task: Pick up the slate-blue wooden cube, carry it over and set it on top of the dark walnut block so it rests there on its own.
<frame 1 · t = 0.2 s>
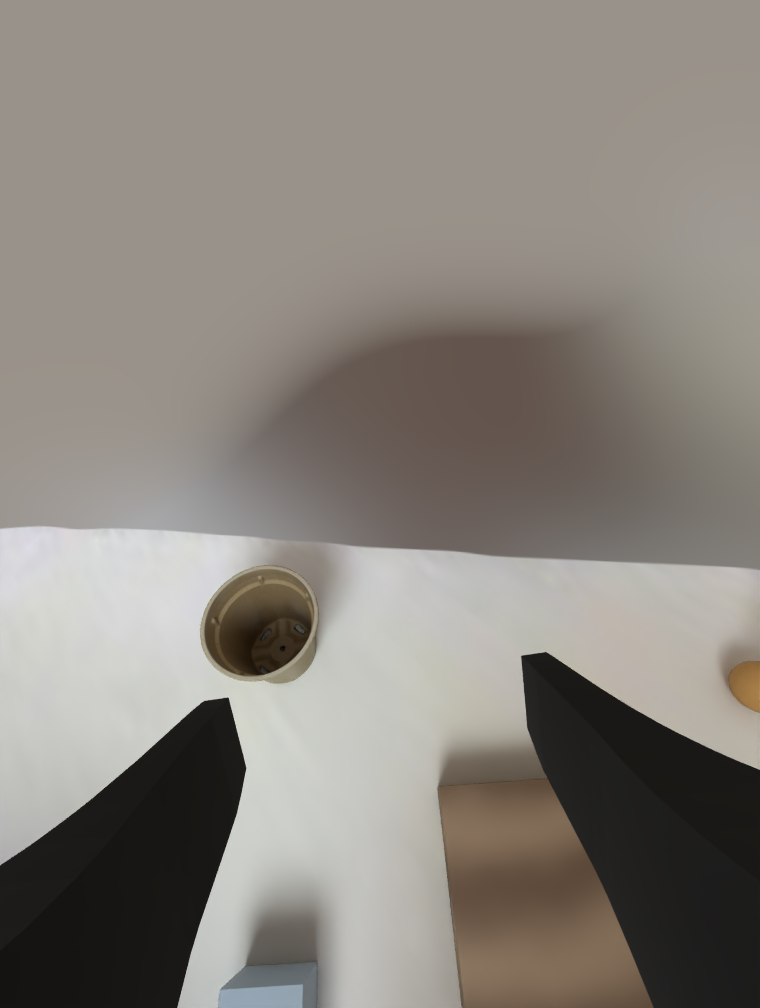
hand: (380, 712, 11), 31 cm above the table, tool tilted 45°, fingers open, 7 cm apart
walnut base block: (529, 879, 33), on the table
figurine: (756, 695, 39), on the table
flower pot: (285, 650, 43), on the table
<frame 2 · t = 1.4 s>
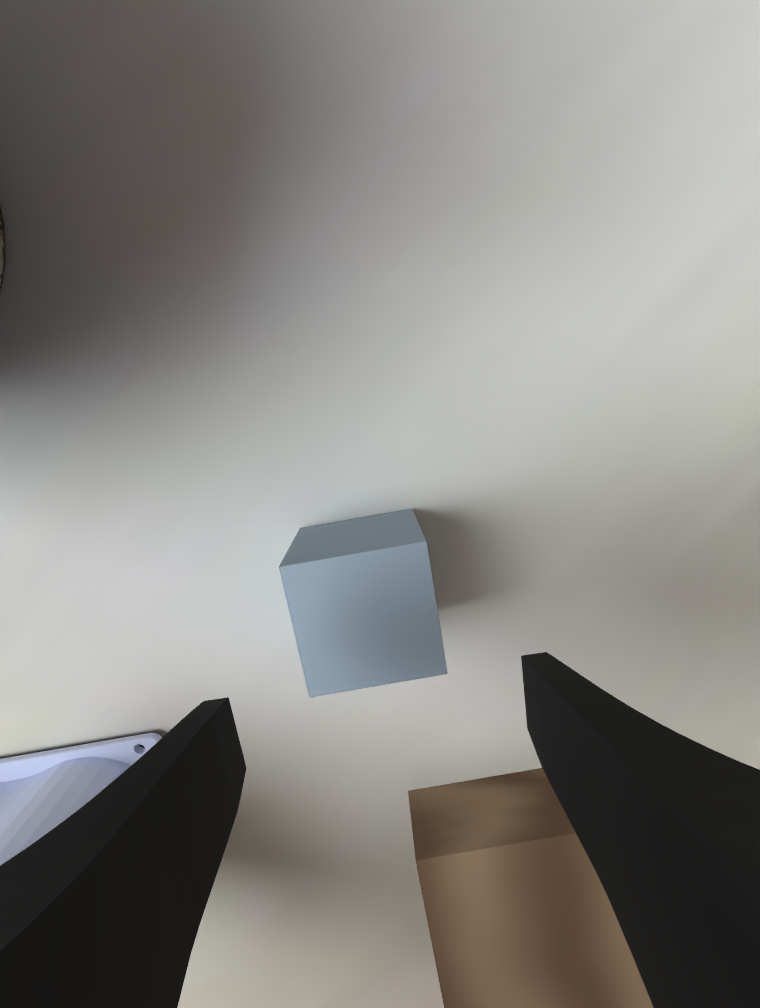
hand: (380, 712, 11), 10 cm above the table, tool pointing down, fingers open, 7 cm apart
walnut base block: (533, 857, 25), on the table
slate cube: (366, 570, 21), on the table
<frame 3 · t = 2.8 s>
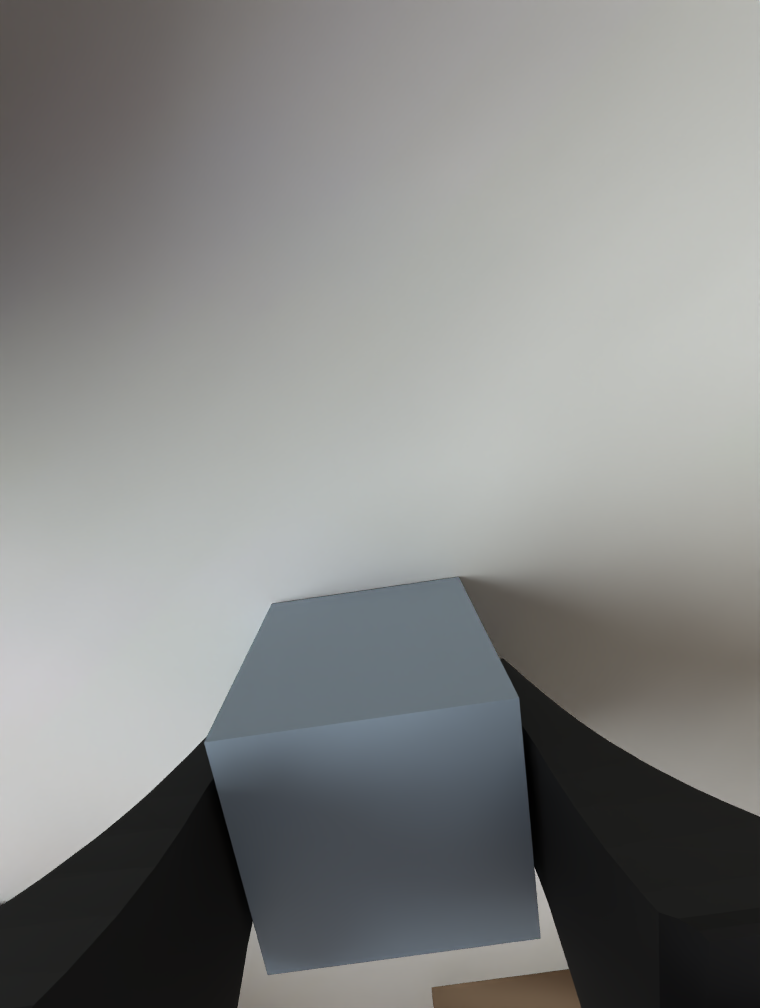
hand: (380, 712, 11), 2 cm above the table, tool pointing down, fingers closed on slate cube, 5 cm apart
slate cube: (378, 673, 13), on the table, touching gripper
when the fingers open (6 cm above the table, at t = 6.8 s): slate cube drops 1 cm, point 4 cm above the table.
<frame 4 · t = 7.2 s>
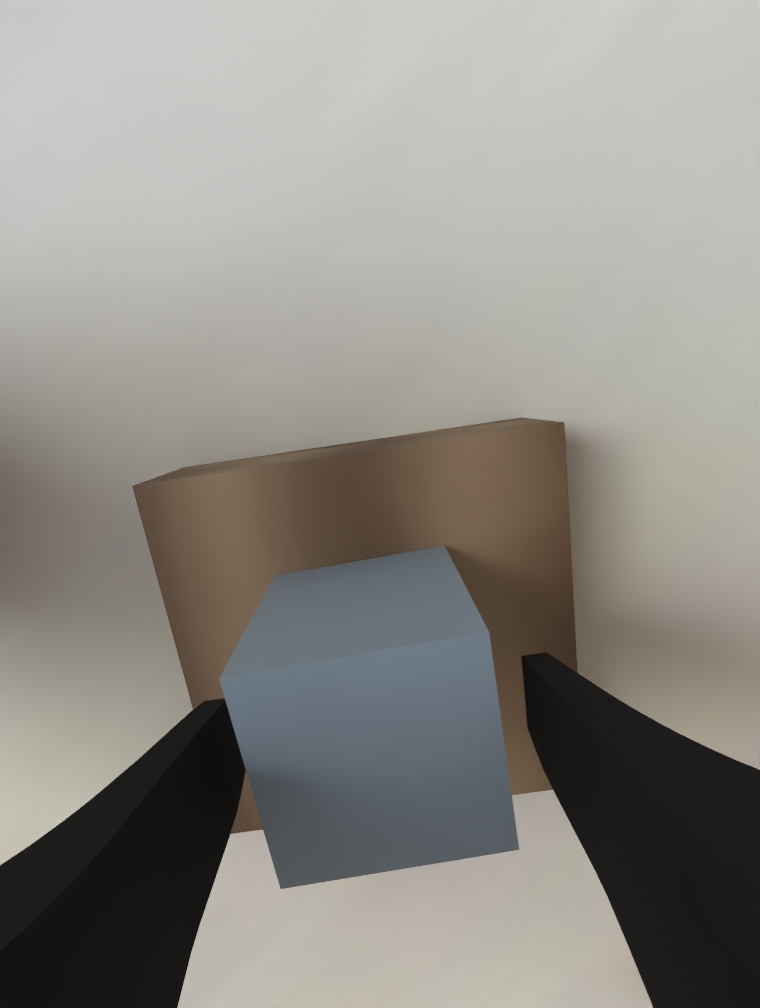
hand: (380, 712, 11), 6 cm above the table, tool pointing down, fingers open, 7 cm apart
walnut base block: (376, 594, 18), on the table
slate cube: (374, 637, 14), point 4 cm above the table
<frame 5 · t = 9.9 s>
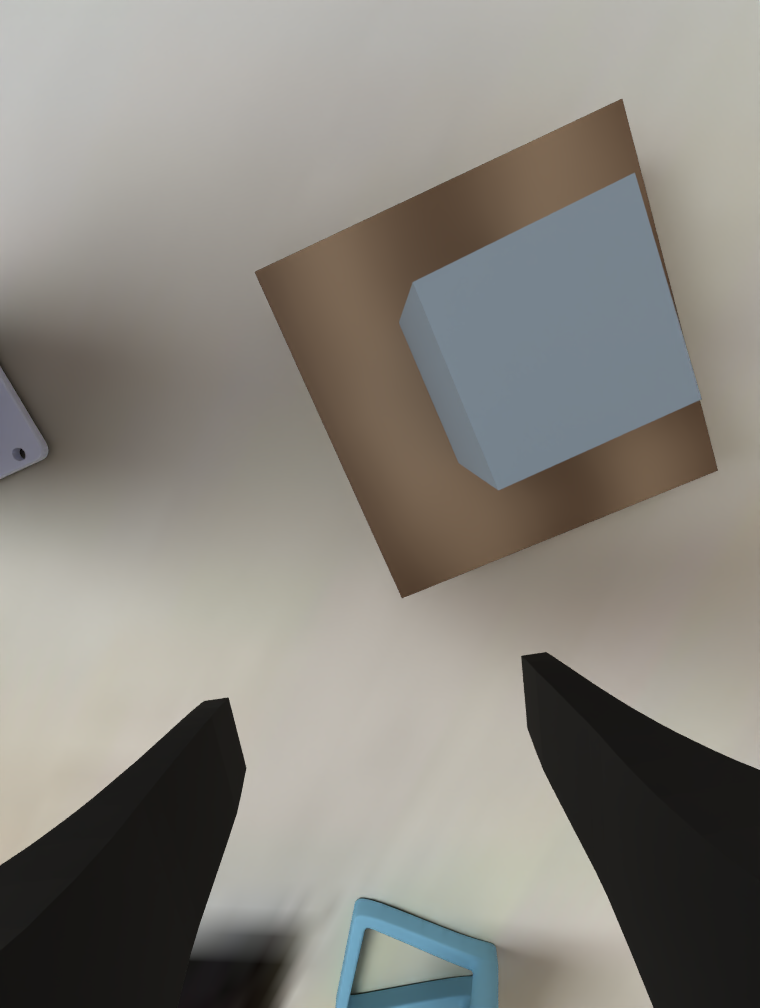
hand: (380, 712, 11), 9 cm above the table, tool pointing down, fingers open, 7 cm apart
walnut base block: (472, 381, 19), on the table
slate cube: (499, 362, 15), point 3 cm above the table
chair: (417, 953, 25), on the table
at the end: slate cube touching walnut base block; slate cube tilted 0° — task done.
